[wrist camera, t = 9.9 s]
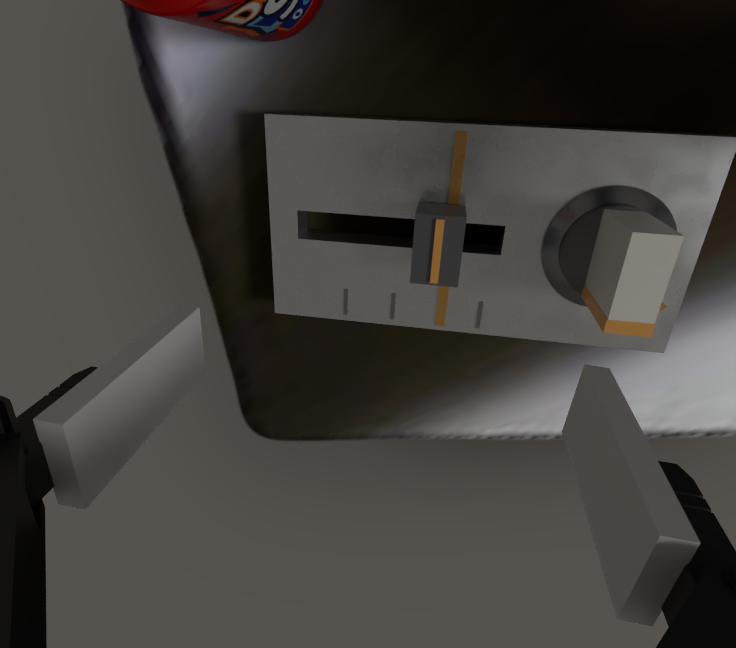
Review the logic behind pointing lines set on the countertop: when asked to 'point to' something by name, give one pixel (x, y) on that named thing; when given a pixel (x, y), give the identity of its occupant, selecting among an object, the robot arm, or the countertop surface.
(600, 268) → the dial
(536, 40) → the countertop surface
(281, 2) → the soda can
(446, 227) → the fader
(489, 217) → the console
